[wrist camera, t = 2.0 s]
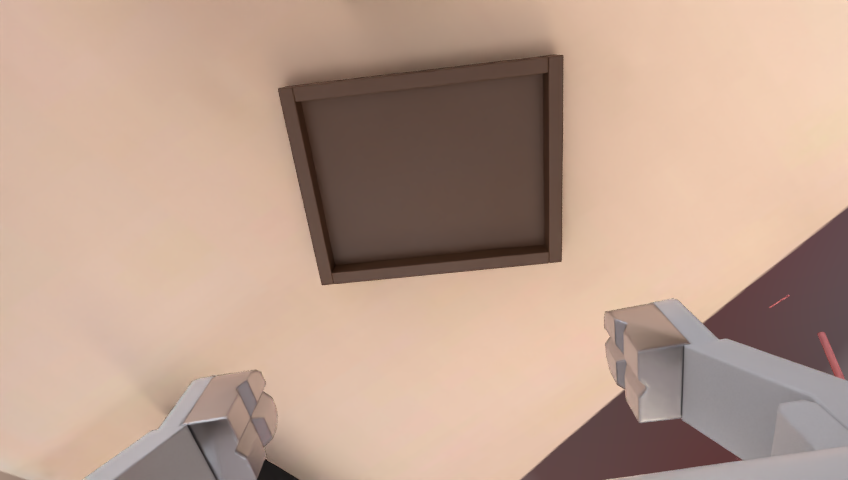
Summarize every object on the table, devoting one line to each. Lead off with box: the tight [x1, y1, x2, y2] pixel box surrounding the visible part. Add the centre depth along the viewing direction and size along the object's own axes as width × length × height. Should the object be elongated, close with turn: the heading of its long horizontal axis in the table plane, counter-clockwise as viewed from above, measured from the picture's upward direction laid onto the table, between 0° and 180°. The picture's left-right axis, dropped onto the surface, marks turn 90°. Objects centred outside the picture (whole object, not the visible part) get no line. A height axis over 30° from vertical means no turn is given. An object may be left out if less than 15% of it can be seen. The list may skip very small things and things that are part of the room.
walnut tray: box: [278, 55, 563, 285], centre depth 33 cm, size 19×15×2 cm
